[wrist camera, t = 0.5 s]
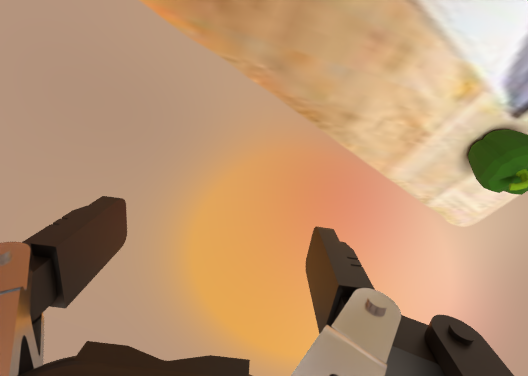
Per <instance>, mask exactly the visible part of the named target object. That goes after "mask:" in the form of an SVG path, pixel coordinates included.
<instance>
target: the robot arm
mask: <svg viewBox="0 0 528 376" xmlns="http://www.w3.org/2000/svg"><path fill="white" fill-rule="evenodd" d="M126 236H127V220H126V203H125V200H124V199H121V198H114V197H107V196H102V197H101V198H99V199H97V200H96V201H94V202H93V203H92V204H90V205H89V206H85V207H82V208H79V209H76V210H73V211H71V212H70V213H68V214H66V215H65V216H63V217H62V219H59V220H57V221H56V222H54V223H53V225H52V224H51V225H49V226H47V227H46V228H44V229H43V230H41V231H39V232H38V233H36V234H35V235H33V236H31V237H30V238H28V239H27V240H25V241H23V242H22V243H21V242H4V243H0V376H252V375H249V361H250V360H246V359H237V358H228V357H220V356H211V355H210V356H203V357H195V358H188V359H180V360H173V361H164V360H160V359H158V358H156V357H153V356H151V355H149V354H146V353H144V352H141V351H139V350H137V349H134V348H132V347H129V346H125V345H116V344H108V343H99V342H90V341H87V342H86V343H85V345H84V346H83V348H82V349H81V350H80V352H79V353H78V355H77V356H72V357H68V358H63V359H59V360H56V361H53V362H50V363H47V364H44V365H43V356H44V355H43V354H44V316H43V311H45V310H46V308H48V307H49V306H51V307H59V308H66V307H67V306H68V305H69V304H70V303H71V302H72V301H73V300H74V299H75V298H76V296H77V295H78V294H79V293H80V292H81V291H82V290H83V289H84V288H85V287H86V286H87V284H88V283H89V282H90V281H91V280H92V279H93V278H94V277H95V276H96V275H97V274H98V272H99V271H100V270H101V269H102V268H103V267H104V266H105V265H106V264H107V262H108V261H109V260H110V259H111V258H112V257H113V256H114V255H115V254H116V253H117V252H118V251H119V250H120V248H121V247H122V246H123V244H124V242H125V240H126ZM361 266H362V265H361V263H360V262H359V260H358V258H357V256H356V254H355V252H354V250H353V249H352V248H350V247H349V246H348V245H347V244H346V243H344V242H340V241H339V239H338V237H337V235H336V233H335V231H334V229H329V228H322V227H315V228H314V231H313V234H312V238H311V243H310V246H309V250H308V254H307V258H306V274H307V278H308V283H309V288H310V292H311V297H312V302H313V306H314V311H315V315H316V320H317V324H318V328H319V334H320V335H319V336H318V337H317V339H316V340H315V342H314V343H313V345H312V346H311V348H310V349H309V350H308V352H307V353H306V355H305V356H304V358H303V359H302V361H301V362H300V364H299V365H298V366H297V368H296V369H295V371H294V372H293V374H292V375H291V376H514V375H513V374H512V373H511V372H510V370H509V369H508V368H507V367H506V365H505V364H504V363H503V362H502V360H501V359H500V358H499V357H498V355H497V354H496V353H495V352H494V351H493V350H492V348H491V347H490V346H489V345H488V343H487V342H486V341H485V340H484V339H483V337H482V336H481V335H480V334H479V333H478V332H476V331H475V330H474V329H473V328H471V327H470V326H468V325H467V324H465V323H464V322H462V321H460V320H458V319H455V318H453V317H450V316H446V315H436V316H434V317H433V318H432V320H431V322H430V324H429V325H426V324H424V323H421V322H418V321H416V320H413V319H410V318H407V317H405V316H402V315H401V312H400V309H399V308H398V306H397V305H396V304H395V302H394V301H393V300H391V299H390V298H389V297H388V296H386V295H385V294H383V293H381V292H379V291H376V290H375V289H374V287H373V286H372V284H371V282H370V280H369V278H368V276H367V274H366V272H365V271H364V269H363V267H361Z"/></svg>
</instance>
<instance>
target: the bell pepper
mask: <svg viewBox="0 0 528 376" xmlns="http://www.w3.org/2000/svg"><path fill="white" fill-rule="evenodd" d="M468 159H469V162H470V165H471V168H472V170H473V173H474V175H475V177H476V179H477V180H478V182H479V183H480V184H481V185H482V186H483V187H484V188H486V189H488V190H491V191H494V192H498V193H500V192H502V191H506V192H508V193H511V194H521V195H522V194H523V193H525V192H526V191H528V135H526V134H523V133H520V132H517V131H514V130H510V129H505V130H497V131H492V132H490V133H489V134H487V135H486V136H485V137H484V138H483V140H479V141H477V142H476V143H475V144H473V145H472V146H471V149H470V151H469V154H468Z"/></svg>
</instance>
